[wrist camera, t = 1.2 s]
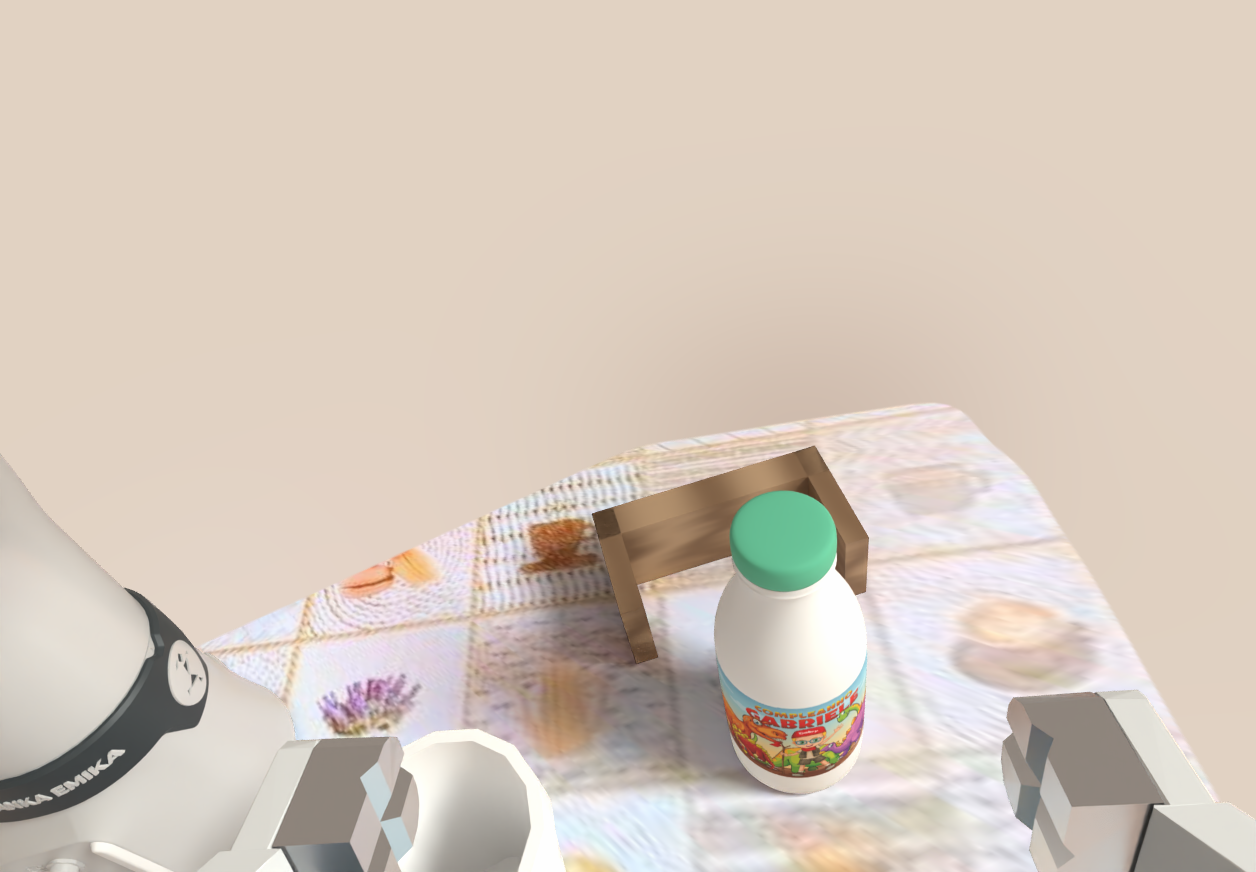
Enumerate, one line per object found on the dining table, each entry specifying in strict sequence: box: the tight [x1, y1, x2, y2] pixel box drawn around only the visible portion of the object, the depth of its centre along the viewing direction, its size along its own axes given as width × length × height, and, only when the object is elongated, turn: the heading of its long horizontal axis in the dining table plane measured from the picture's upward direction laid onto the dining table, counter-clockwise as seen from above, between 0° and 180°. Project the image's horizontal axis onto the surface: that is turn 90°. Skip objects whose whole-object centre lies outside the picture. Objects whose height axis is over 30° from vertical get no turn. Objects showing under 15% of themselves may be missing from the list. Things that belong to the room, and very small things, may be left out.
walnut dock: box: [592, 446, 869, 664], centre depth 56 cm, size 16×8×6 cm, turn 104°
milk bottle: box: [714, 491, 867, 794], centre depth 43 cm, size 8×8×20 cm
